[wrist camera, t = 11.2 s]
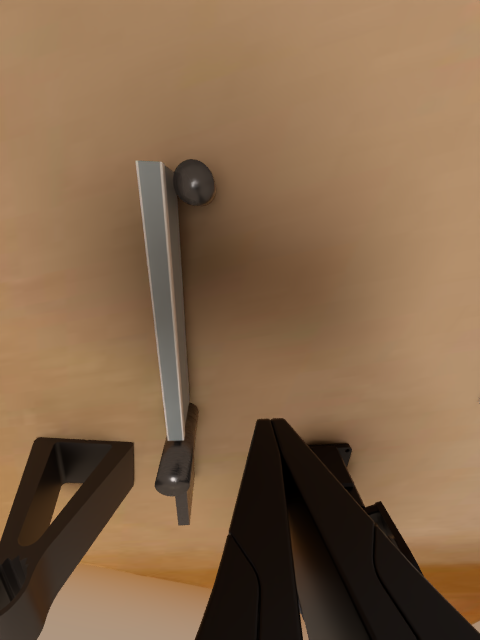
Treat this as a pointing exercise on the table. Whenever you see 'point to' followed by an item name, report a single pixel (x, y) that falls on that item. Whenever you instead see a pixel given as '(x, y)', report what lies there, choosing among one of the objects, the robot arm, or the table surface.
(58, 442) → the phone stand
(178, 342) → the grey flat bar
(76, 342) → the table surface
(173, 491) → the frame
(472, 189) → the table surface
